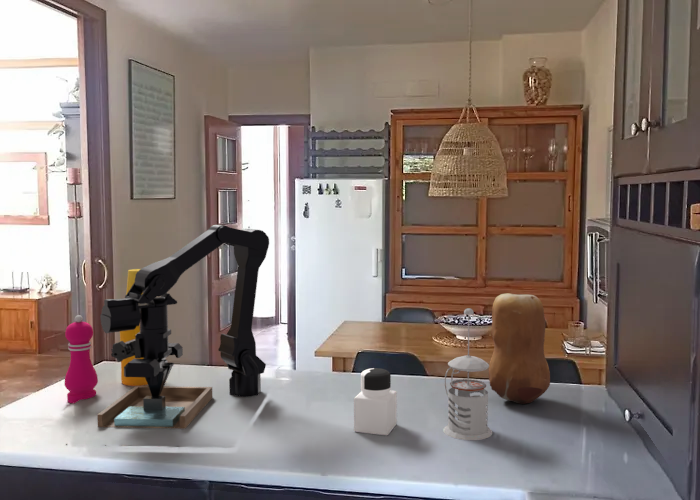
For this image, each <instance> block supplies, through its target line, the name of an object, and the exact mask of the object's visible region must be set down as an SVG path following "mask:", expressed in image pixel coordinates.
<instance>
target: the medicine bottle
mask: <svg viewBox="0 0 700 500" xmlns="http://www.w3.org/2000/svg"><path fill="white" fill-rule="evenodd" d="M391 376H392V375H391V372H390V371H389V370H387V369H385V368H379V367H378V368H374V367H373V368H367V369H365V370H362V372H360V392H359V393H358V394H357V395H356V396H355V397H354V398H353V431H354V432H356V433H363V434H371V435H378V436H388V435H390V433H391V431H392V430H393V429H394V428H395V427H396V425H397V424H398V418H397V417H398V415H397V414H398V413H397V412H398V410H397V409H398V404H397V403H398V392H397V391H396V390H391V389H392V388H391V387H392V386H391V384H392V383H391V381H392V379H391Z"/></svg>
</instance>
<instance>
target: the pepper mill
mask: <svg viewBox="0 0 700 500" xmlns="http://www.w3.org/2000/svg"><path fill="white" fill-rule="evenodd" d="M83 320H84V319H83V316H82V315H80V314H77V315H76V316H75V317H74V321H73V322H72V323H70V324H68V326H66V328H65V335H64V337H65V339H66V340H67V341H68V344H67V346H68V349H67V350H69V352H70V362H69V366H68V368H67V371H66V373H65V378H64V387H65V388H66V390H68V391H69V392H68V393H67V396H66V398H67V403H70V404H73V405H74V404H76V403H77V402H79V401H80V400H81V401H82V400H88V399H91V398H93V397H95V396H96V395H97V391H96V389H95V388H96V386H97V385H98V383H99V380H98V379H99V378H98V374H97V371H96V369H95V367H94V365H93V363H92V361H91V360H92V359H91V355H90V351H91V350H90V349H92V341H91V339H92V338H93V337H94V329H93V328H94V327H92V325H91V324H90V323H88V322H86V321H83Z"/></svg>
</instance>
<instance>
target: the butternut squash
mask: <svg viewBox="0 0 700 500" xmlns="http://www.w3.org/2000/svg"><path fill="white" fill-rule="evenodd" d="M544 309H545V308H544V306H543V303H542V301H541V299H540V298H538V297H537V296H536V295H533V294H514V293H507V292H506V293H501V294H499V295H497V296H496V297H495V299H494V301H493V303H492V309H491V331H490V332H491V337H492V340H493V345H494V348H493V352H492V355H491V358H490V361H489V363H488V364H489V367H488V381H489V386H490V388H491V390H492V391H493V392H494V393H496V394H497V395H498V397H499V398H502V399H504V400H507V401H510V402H514V403H515V404H520V405H525V404H526V405H527V404H529V403H533V402H534V401H536V400H537V399H539V398H540V397H541V396H542V395H544V394H545V393H546V392H547V390H548V389H549V388H550V385H551V372H550V367H549V363H548V360H547V359H546V356H545V351H544V350H545V349H544V345H545V337H546V317H545V313H544V312H545V311H544Z"/></svg>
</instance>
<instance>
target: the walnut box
mask: <svg viewBox="0 0 700 500" xmlns="http://www.w3.org/2000/svg"><path fill="white" fill-rule="evenodd" d="M146 396H152V395H151V392H150V389H149V386H148V385H141V386H133V388H131V389H129V390H128V391H127V392H125V393H124V394H123V395H121V396H120V397H119V398H117V399H116V400H115V401H113V402H112V403H110V404H109V406H107V407H105V408H104V409H103V410H101V411H100V412H99V413H97V414H96V416H97V417H96V418H97V428H129V429H130V428H133V429H134V428H136V429H140V428H141V429H182V430H184V429H185V430H186V429H187V427H188V426H189V425H190V423H192V422H193V421H194V419H195V418H197V416H198V415H199V414H200V413H201V412H202V410H203V409H204V408H205V407H206V406H207V405H208V403H209V402H210V401H211V400H212V399H213V398H214V397H213V386H173V385H171V386H170V385H169V386H166V385H164V387H163V390H162V392H161V395H160V396H165V407H185V411H184V412H183V413H182V414H181V415H180V420H179V421H178V422H177V423H176V424H175V425H174V426H173V427H146V426H115V425H114V419H115V418H116V417H117V416H118V415H120V414H121V413H122V412H123V411H124V410H126V409H127V408H128V407H129V406H143V398H145V397H146Z"/></svg>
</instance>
